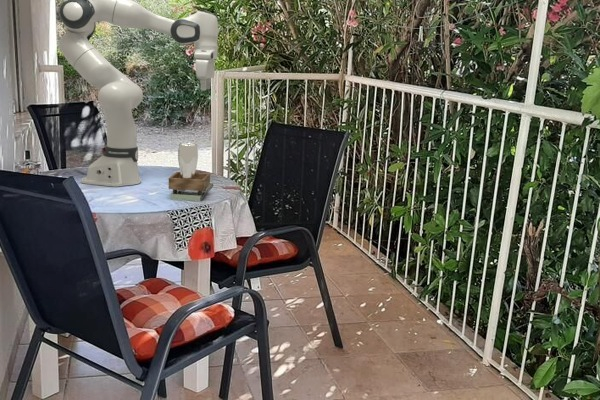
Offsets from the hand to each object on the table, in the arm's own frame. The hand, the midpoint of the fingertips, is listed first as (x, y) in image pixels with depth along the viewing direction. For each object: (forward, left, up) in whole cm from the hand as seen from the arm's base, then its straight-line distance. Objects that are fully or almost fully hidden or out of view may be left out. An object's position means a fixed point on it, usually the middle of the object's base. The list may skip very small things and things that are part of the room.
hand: (205, 89), depth 240 cm
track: (0, -21, -37) cm, 43 cm away
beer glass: (0, -30, -33) cm, 45 cm away
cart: (0, -28, -36) cm, 45 cm away
